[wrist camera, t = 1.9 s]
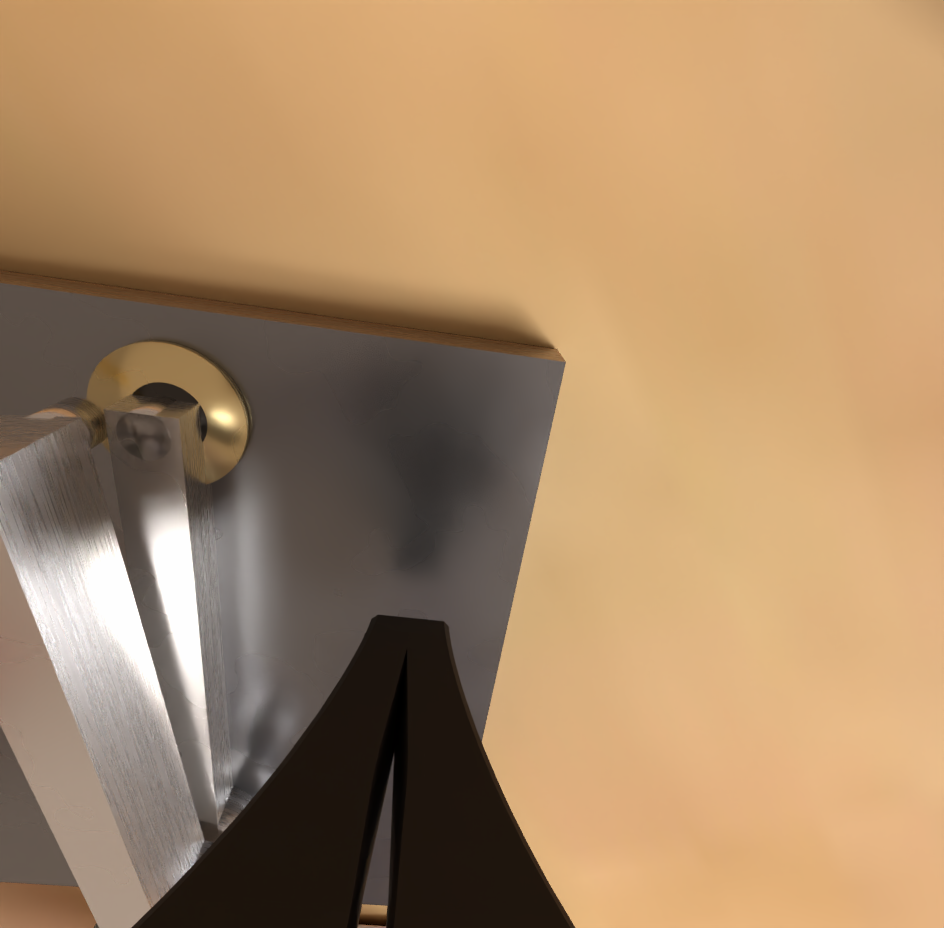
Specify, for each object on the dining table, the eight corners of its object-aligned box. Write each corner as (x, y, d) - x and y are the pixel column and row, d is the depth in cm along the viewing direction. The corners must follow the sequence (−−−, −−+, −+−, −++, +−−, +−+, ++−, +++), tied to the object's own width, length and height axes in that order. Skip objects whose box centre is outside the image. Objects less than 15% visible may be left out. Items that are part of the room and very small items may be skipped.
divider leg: (267, 871, 15) (227, 1004, 13) (159, 870, 15) (97, 1004, 12) (164, 399, 9) (49, 472, 7) (-16, 394, 9) (-203, 464, 6)
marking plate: (445, 874, 18) (443, 947, 16) (-126, 836, 17) (-198, 911, 15) (556, 349, 10) (576, 377, 9) (-471, 203, 9) (-702, 201, 7)
